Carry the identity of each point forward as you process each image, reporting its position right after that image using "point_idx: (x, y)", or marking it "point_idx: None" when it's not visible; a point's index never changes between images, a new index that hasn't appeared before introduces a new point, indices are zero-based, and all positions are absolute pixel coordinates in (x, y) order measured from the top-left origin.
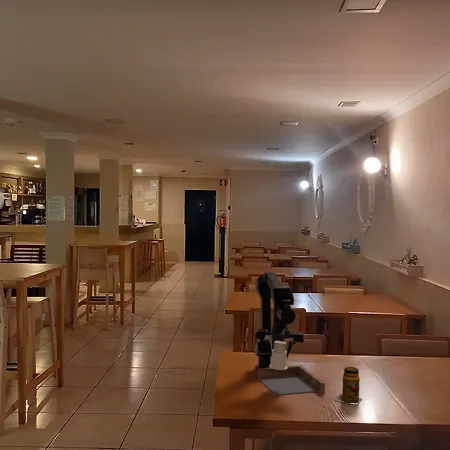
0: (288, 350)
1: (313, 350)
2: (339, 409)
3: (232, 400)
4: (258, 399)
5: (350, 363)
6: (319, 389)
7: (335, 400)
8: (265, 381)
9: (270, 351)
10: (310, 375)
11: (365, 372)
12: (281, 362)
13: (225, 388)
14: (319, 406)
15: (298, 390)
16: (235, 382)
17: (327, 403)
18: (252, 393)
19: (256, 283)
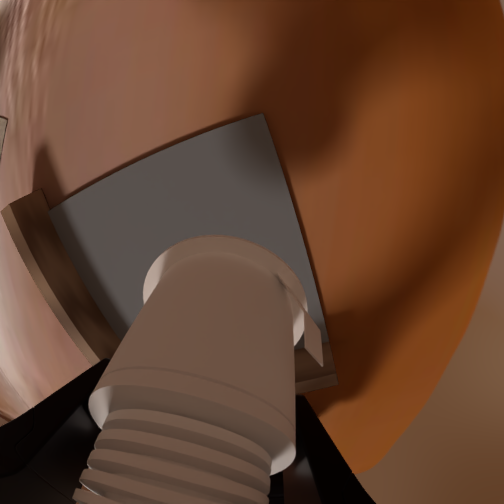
0: (51, 415)
1: None
2: (8, 45)
3: (476, 68)
4: (366, 58)
5: None
6: (39, 207)
7: (4, 123)
8: None
9: (319, 443)
10: (66, 310)
11: (5, 365)
12: (176, 292)
13: (489, 215)
14: (58, 36)
15: (125, 197)
16: (439, 289)
17: (27, 82)
18: (394, 145)
19: None
